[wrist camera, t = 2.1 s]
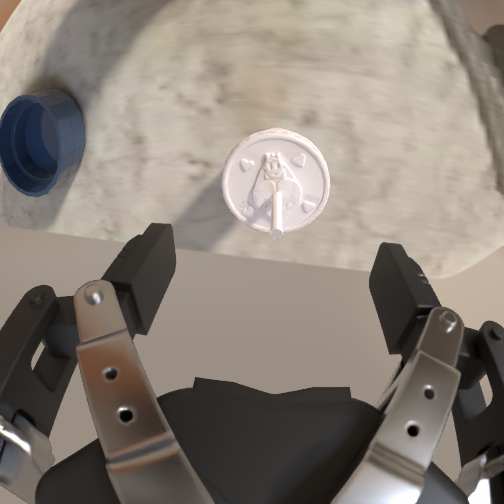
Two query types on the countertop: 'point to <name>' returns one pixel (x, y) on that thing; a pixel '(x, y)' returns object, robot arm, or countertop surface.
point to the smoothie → (275, 181)
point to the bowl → (41, 141)
